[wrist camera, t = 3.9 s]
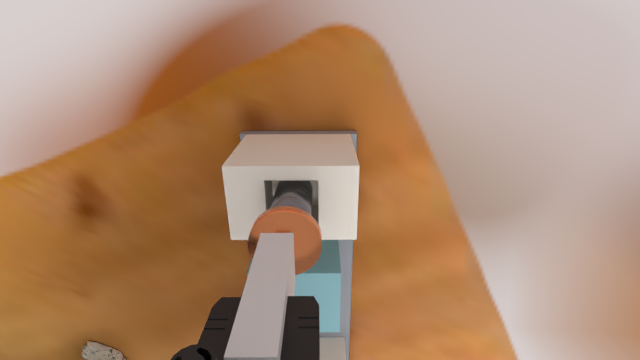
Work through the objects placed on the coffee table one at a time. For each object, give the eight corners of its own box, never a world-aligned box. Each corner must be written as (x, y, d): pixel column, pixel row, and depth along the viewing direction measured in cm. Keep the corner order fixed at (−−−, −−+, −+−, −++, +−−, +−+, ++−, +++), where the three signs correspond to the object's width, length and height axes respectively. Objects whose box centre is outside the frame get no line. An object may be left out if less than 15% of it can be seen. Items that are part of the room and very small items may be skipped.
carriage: (268, 266, 31) (253, 332, 24) (264, 217, 29) (246, 273, 22) (335, 266, 31) (339, 332, 24) (336, 216, 29) (341, 273, 22)
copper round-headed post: (269, 213, 24) (251, 276, 17) (265, 164, 22) (244, 213, 16) (321, 213, 23) (321, 276, 17) (321, 164, 22) (321, 213, 16)
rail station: (265, 364, 37) (251, 444, 30) (242, 131, 27) (212, 166, 20) (347, 364, 37) (354, 445, 30) (355, 130, 27) (368, 165, 20)
